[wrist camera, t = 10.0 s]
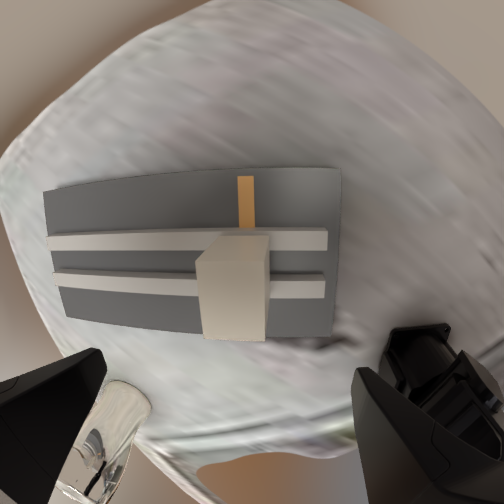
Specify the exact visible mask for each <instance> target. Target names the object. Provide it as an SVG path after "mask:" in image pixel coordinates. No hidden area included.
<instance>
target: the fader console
mask: <svg viewBox="0 0 504 504" xmlns="http://www.w3.org/2000/svg"><path fill="white" fill-rule="evenodd" d="M43 197H44V207H45V216H46V224H47V231H48V236H47V237H46V241H47V247H48V251H51V255H52V260H53V265H54V270H55V272H53V277H54V281H55V285H56V286H58V287H59V291H60V295H61V299H62V302H63V306H64V309H65V313H66V316H67V317H71V318H77V319H82V320H88V321H94V322H100V323H107V324H113V325H120V326H128V327H135V328H143V329H152V330H161V331H171V332H182V333H194V334H203V329H202V321H201V313H200V304H199V295H198V286H197V276H196V266H195V261H196V260H197V259H198V258H199V257H200V255H201V254H202V253H203V252H204V251H205V250H206V249H207V248H208V247H209V246H210V245H211V244H212V243H213V242H214V241H215V240H216V239H217V238H218V236H254V235H269V261H270V300H269V309H268V318H267V328H266V337H331V333H332V324H333V315H334V306H335V295H336V284H337V271H338V256H339V238H340V209H341V168H300V167H278V168H237V169H216V170H200V171H187V172H175V173H164V174H155V175H145V176H137V177H129V178H121V179H114V180H107V181H101V182H94V183H88V184H82V185H76V186H71V187H65V188H60V189H55V190H50V191H45V192H43Z"/></svg>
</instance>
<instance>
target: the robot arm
mask: <svg viewBox="0 0 504 504" xmlns="http://www.w3.org/2000/svg"><path fill="white" fill-rule="evenodd" d="M445 329H446V330H445ZM450 330H451V327H450V326H449V325H448V324H439V325H430V326H421V327H411V328H400V329H394V330H392V332H391V333H390V337H389V341H388V345H387V349H386V351H385V352H384V354H383V358H382V361H381V365H380V369H379V372H378V374H377V373H375V372H374V371H373V370H372V369H370V368H369V367H358V368H356V370H355V373H354V377H353V381H352V385H351V397H352V406H353V417H354V427H355V434H356V439H357V443H358V448H359V453H360V458H361V463H362V468H363V473H364V479H365V484H366V489H367V496H368V501H369V504H504V412H503V411H502V410H501V408H502V407H503V406H504V397H503V395H502V392H501V390H500V387H499V385H498V382H497V381H496V380H495V379H494V377H493V376H492V375H491V374H490V373H489V372H488V370H487V369H486V368H485V367H484V366H483V365H481V364H480V363H479V362H478V361H476V360H475V359H474V358H472V357H471V356H470V355H469V354H467V353H466V352H465V351H463V350H461V352H460V353H459V354H458V356H457V354H456V353H455V352H454V350H453V349H452V348H451V347H450V345H449V344H448V343H447V339H448V336H449V333H450ZM395 334H397V335H396V336H394V335H395ZM106 372H107V365H106V362H105V360H104V357H103V354H102V351H101V350H100V349H96V348H88V349H86V350H84V351H81V352H79V353H76V354H74V355H71V356H69V357H66V358H64V359H61V360H58V361H56V362H53V363H51V364H48V365H46V366H43V367H40V368H38V369H36V370H33V371H30V372H27V373H25V374H22V375H20V376H17V377H14V378H12V379H9V380H6V381H3V382H0V504H48V502H49V499H50V497H51V494H52V491H53V489H54V487H55V485H56V482H57V479H58V477H59V475H60V473H61V470H62V468H63V466H64V464H65V461H66V459H67V457H68V455H69V453H70V451H71V449H72V446H73V444H74V442H75V440H76V438H77V436H78V434H79V432H80V430H81V428H82V426H83V424H84V422H85V420H86V418H87V416H88V414H89V412H90V410H91V408H92V406H93V404H94V402H95V400H96V397H97V395H98V392H99V390H100V387H101V385H102V382H103V380H104V377H105V375H106Z"/></svg>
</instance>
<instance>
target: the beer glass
mask: <svg viewBox="0 0 504 504" xmlns="http://www.w3.org/2000/svg"><path fill="white" fill-rule="evenodd" d="M150 413H151V405H150V403H149V401H148V399H147V398H146V397H145V396H144V394H142V393H141V392H140V391H139V390H138V389H136V388H135V387H133V386H132V385H130V384H127V383H125V382H121V381H111V382H109V383H108V384H107V386H106V387H105V389H104V392H103V394H102V397H101V399H100V401H99V402H98V404H97V405H96V406H95V407H94V409H93V410H92V411H91V412H90V413H89V414H88V416H87V418H86V420H85V422H84V424H83V426H82V428H81V430H80V432H79V434H78V436H77V438H76V440H75V442H74V444H73V446H72V449H71V451H70V453H69V455H68V457H67V459H66V461H65V464H64V466H63V468H62V470H61V473H60V475H59V477H58V479H57V482H56V485H55V487H56V488H58V489H59V490H60V491H62V492H63V493H64V494H66V495H67V496H69V497H70V498H72V499H74V500H75V501H77V502H79V503H81V504H108V503H109V501H110V500H111V498H112V496H113V495H114V493H115V491H116V490H117V488H118V486H119V484H120V482H121V480H122V477H123V475H124V472H125V469H126V466H127V463H128V459H129V455H130V451H131V447H132V443H133V440H134V437H135V434H136V432H137V430H138V429H139V427H140V426H141V424H142V423H143V422H144V421H145V420H146V419H147V417H148V416H149V415H150Z"/></svg>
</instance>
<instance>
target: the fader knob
mask: <svg viewBox="0 0 504 504" xmlns="http://www.w3.org/2000/svg"><path fill="white" fill-rule="evenodd" d="M195 266H196V276H197V286H198V295H199V304H200V313H201V321H202V329H203V337H204V339H217V340H236V341H264V342H265V337H266V328H267V318H268V309H269V300H270V261H269V235H254V236H218V238H217V239H216V240H215V241H214V242H213V243H212V244H211V245H210V246H209V247H208V248H207V249H206V250H205V251H204V252H203V253H202V254H201V255H200V257H199V258H198V259H197V260H196V261H195Z"/></svg>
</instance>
